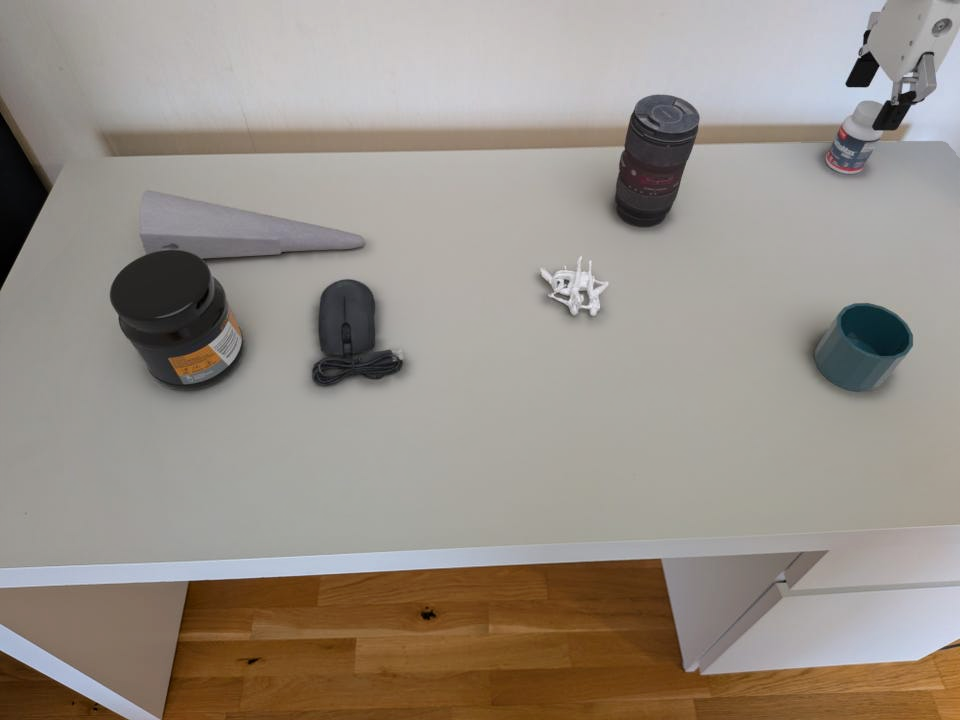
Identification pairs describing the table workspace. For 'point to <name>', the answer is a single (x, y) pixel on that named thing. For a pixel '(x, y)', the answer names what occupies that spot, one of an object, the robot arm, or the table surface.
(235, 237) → the tapered wedge
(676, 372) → the table surface
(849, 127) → the pill bottle
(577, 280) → the figurine
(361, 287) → the computer mouse
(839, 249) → the table surface
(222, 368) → the supplement container
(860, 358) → the cup
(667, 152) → the camera lens
